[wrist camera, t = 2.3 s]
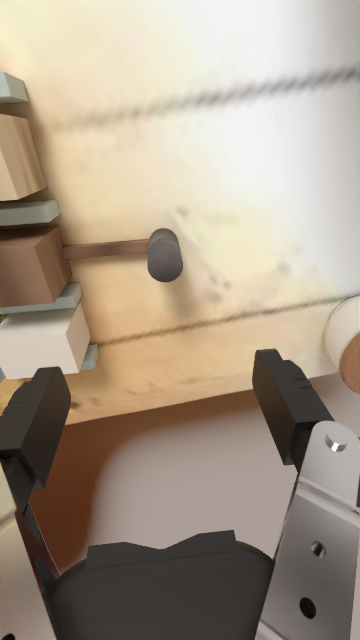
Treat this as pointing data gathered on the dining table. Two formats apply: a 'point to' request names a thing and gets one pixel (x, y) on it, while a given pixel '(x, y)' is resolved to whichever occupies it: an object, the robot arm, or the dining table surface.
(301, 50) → the dining table surface
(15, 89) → the lane shelf
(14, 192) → the oak block
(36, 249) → the tow block
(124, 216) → the dining table surface
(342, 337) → the lidded jar
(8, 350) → the cream block
